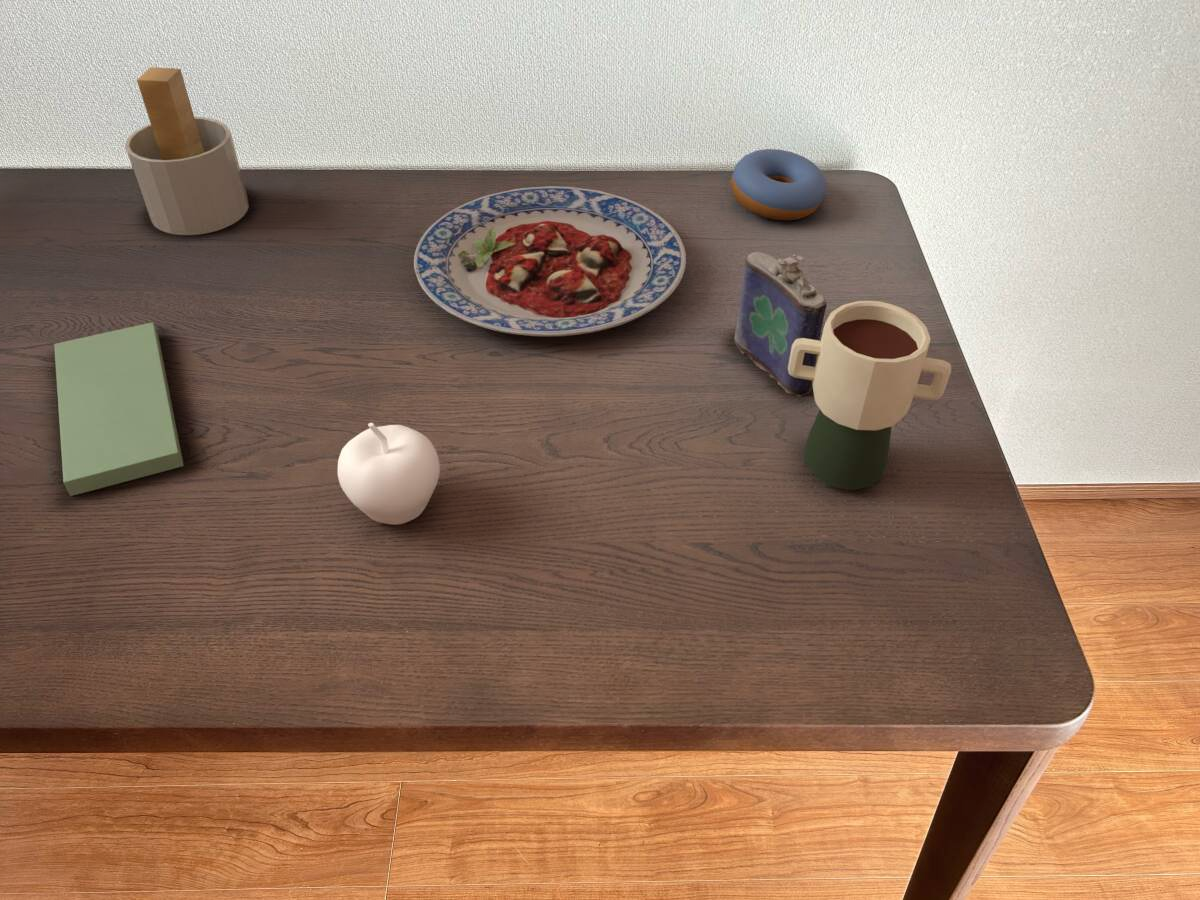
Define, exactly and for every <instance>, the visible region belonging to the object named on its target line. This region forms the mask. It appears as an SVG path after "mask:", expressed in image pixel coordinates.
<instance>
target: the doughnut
mask: <svg viewBox="0 0 1200 900" xmlns="http://www.w3.org/2000/svg"><path fill="white" fill-rule="evenodd" d="M730 187H731V190H732V193H733V196H734V198H735V199H736V200H737V201H738V202H739V203H740V205H741V206H742V207H744V209H746V210H748V211H750V212H751V213H753V214H755V215H757V216H760V217H763V218H765V219H771V220H775V221H795V220H800V219H803V218H805V217H808V216H810V215H812V214H813V213H814V212H815V211H816V210H817V209H818V208H819V206H821V205H822V202H823V200H824V197H825V196H826V190H827V180H826V178H825V175H824V174H823V172H822V170H821V169H820V167H818V166H817V165H816V164H815V163H814V161H812V160H810V159H808V158H807V157H806V156H803V155H801V154H798V153H796V152H793V151H788V150H784V149H778V148H775V149H773V148H765V149H758V150H755V151H752V152H750V153H747V154H745V155H744V156H743V157H742V158H741V159H740V160H738V162H737V163H736V164H735V166H734V169H733V171H732V175H731V178H730Z"/></svg>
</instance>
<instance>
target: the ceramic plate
mask: <svg viewBox="0 0 1200 900" xmlns="http://www.w3.org/2000/svg"><path fill="white" fill-rule="evenodd" d="M686 265H687V253H686V249H685V245H684V243H683V241H682V239H681V237H680V235H679V233H678V232H677V230H676V229H675V228H674V227H673V226H672V225H671V224H670V223H669V222H668V221H667V220H666V219H664V218H663V217H662V216H661V215H660V214H658V213H656V212H655V211H653V210H652V209H650V208H648V207H647V206H644V205H642V204H641V203H638V202H635V201H633V200H631V199H629V198H625V197H623V196H620V195H616V194H614V193H613V194H612V193H609V192H605V191H602V190H596V189H589V188H582V187H575V186H574V187H573V186H556V185H555V186H554V185H553V186H552V185H549V186H531V187H522V188H521V187H520V188H514V189H509V190H504V191H499V192H495V193H492V194H491V193H490V194H488V195H487V194H486V195H484V196H481V197H478V198H475V199H473V200H470V201H468V202H465V203H464V204H462V205H459V206H457V207H456V208H454V209H451V210H450V211H448V212H446V213H445V214H444V215H443V216H441V217H439V218H438V219H437V220H436V221H435V222H434V223H432V224H431V225H429V227H428V228H427V230H426V231H425V232H424V233H423V235H422V236H421V238H420V239H419V240H418V244H417V245H416V249H415V251H414V256H413V270H414V272H415V275H416V278H417V281H418V284H419V285H420V288H421V289H422V290H423V292H424V293H425V294H426V295H427V296H428V298H429V299H430V300H432V301H433V302H434V303H435V304H436V305H437V306H439V307H440V308H441V309H442V310H443V311H446V312H447V313H448V314H450V315H452V316H454V317H456V318H459V319H460V320H462V321H464V322H467V323H470V324H472V325H475V326H477V327H481V328H484V329H488V330H492V331H495V332H499V333H504V334H505V333H506V334H511V335H519V336H530V337H567V336H568V337H569V336H577V335H584V334H591V333H595V332H600V331H604V330H608V329H611V328H615V327H619V326H622V325H624V324H627V323H629V322H632V321H634V320H636V319H638V318H640V317H642V316H644V315H646V314H648V313H649V312H651V311H653V310H655V309H656V308H658V307H659V306H660V305H661V304H662V303H664V302H665V301H666V300H668V299H669V297H670V296H671V295H672V294H673V293H674V292H675V290H677V288H678V287H679V285H680V283H681V281H682V280H683V276H684V273H685V270H686Z"/></svg>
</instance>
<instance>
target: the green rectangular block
mask: <svg viewBox="0 0 1200 900" xmlns="http://www.w3.org/2000/svg"><path fill="white" fill-rule="evenodd" d="M53 347H54V348H53V349H54V361H55V363H54V364H55V377H56V378H55V379H56V390H57V391H56V392H57V405H58V407H57V408H58V419H59V421H58V422H59V436H60V450H61V451H60V452H61V467H62V480H63V481H62V483H63V484H64V486H65V488H66V490H67V492H68V494H69V496H70V497H74V496H77V495H80V494H84V493H88V492H92V491H96V490H100V489H103V488H108V487H111V486H114V485H118V484H122V483H125V482H126V483H127V482H129V481H134V480H138V479H141V478H145V477H148V476H152V475H155V474H160V473H164V472H167V471H171V470H174V469H178V468H182V467H184V460H183V456H182V449H181V445H180V440H179V434H178V430H177V424H176V419H175V414H174V409H173V405H172V404H173V403H172V399H171V394H170V388H169V384H168V377H167V373H166V368H165V363H164V358H163V353H162V347H161V343H160V337H159V334H158V331H157V328H156V325H155V323H154V322H153V321H152V322H147V323H143V324H138V325H134V326H130V327H125V328H121V329H120V328H119V329H116V330H115V329H114V330H111V331H107V332H103V333H102V332H101V333H97V334H93V335H88V336H83V337H79V338H74V339H70V340H66V341H61V342H57V343H54V344H53Z"/></svg>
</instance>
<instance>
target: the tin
mask: <svg viewBox="0 0 1200 900" xmlns="http://www.w3.org/2000/svg"><path fill="white" fill-rule="evenodd" d="M194 118H195V121H196V125H197V128H198V132H199V135H200V139H201V142H202V146H203V149H204V153H202V154H200V155H197V156H193V157H188V158H183V159H175V160H162V157H161V154H160V151H159V148H158V145H157V142H156V139H155V136H154V133H153V129H152V126H151V123H150V124H147V125H144V126H143V127H140V128H139V129H137V130H136V131H133V133H132V134H131V135H129V136H128V138H127V139H126V141H125V145H124V148H125V151H126V154H127V157H128V159H129V162H130V165H131V168H132V171H133V174H134V176H135V179H136V182H137V186H138V189H139V191H140V195H141V197H142V200H143V203H144V206H145V208H146V209H145V210H146V211H147V214H148V217H149V220H150V222H151V224H152V225H153V227H154V228H156V229H158V230H159V231H161V232H164V233H167V234H171V235H177V236H198V235H204V234H205V235H206V234H209V233H214V232H218V231H221V230H223V229H226V228H228V227H230V226H232V225H234V224H235V223H237V222H239V221H240V220H241V219H242V218H243V217H244V216H245V215H246V213H248V210H249V205H250V204H249V198H248V193H247V189H246V186H245V182H244V179H243V175H242V170H241V166H240V163H239V159H238V156H237V152H236V151H237V150H236V147H235V144H234V141H233V137H232V133H231V130H230V129H229V127H228V126H227V124H225V123H224V122H222V121H220V120H218V119H214V118H209V117H206V116H194Z"/></svg>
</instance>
